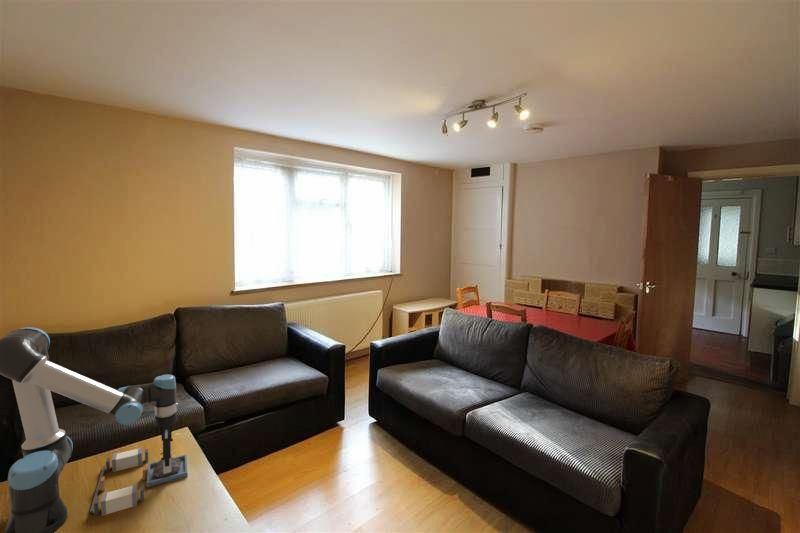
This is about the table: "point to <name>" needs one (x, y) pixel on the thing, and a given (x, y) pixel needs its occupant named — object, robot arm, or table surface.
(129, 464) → the fuse
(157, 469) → the rock
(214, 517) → the table surface
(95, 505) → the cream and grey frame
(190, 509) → the table surface
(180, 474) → the tray
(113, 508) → the fuse
